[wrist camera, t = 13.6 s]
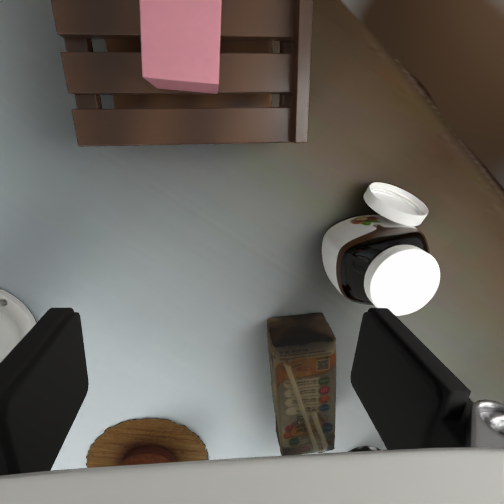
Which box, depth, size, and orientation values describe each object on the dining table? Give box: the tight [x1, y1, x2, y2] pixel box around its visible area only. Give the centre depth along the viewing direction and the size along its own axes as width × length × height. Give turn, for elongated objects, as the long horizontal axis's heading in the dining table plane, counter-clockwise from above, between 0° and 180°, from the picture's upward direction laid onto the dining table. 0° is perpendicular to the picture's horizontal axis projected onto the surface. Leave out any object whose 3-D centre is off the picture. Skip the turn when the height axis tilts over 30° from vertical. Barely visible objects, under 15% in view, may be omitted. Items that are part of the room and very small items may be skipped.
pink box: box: [139, 0, 222, 94], centre depth 22 cm, size 5×6×6 cm
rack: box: [51, 0, 313, 146], centre depth 28 cm, size 18×14×10 cm
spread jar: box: [322, 182, 440, 316], centre depth 35 cm, size 12×11×12 cm
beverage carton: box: [267, 313, 336, 456], centre depth 44 cm, size 8×19×7 cm, turn 5°
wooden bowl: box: [86, 419, 208, 468], centre depth 47 cm, size 18×18×7 cm
